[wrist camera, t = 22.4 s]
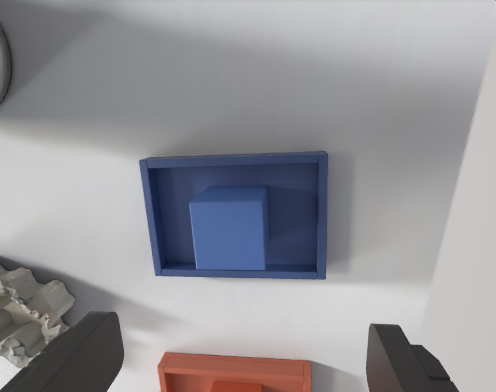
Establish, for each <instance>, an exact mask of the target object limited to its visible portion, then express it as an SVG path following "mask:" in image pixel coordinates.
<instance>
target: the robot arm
mask: <svg viewBox="0 0 496 392" xmlns="http://www.w3.org/2000/svg"><path fill="white" fill-rule="evenodd" d="M10 73H11V62H10V54H9V48H8V45H7V41H6V38H5V36H4V33H3V31H2V29H1V27H0V102H1V100H2V99H3V97H4V95H5V93H6V91H7V88H8V85H9V81H10ZM123 359H124V348H123V342H122V336H121V330H120V324H119V318H118V315H117V314H116V313H115V312H103V311H91V312H89V313H88V314H87V315H86V316H85V317H84V318H83V319H82V320H81V321H80V322H79V323H78V324H77V325H76V326H75V327H71V328H70V329H68V330H66V331H65V332H63V333H62V334H60V335H58V336H57V337H55V338H54V339H53V340H52V341H51V342H50V343H49V344H48V345H47V346H46V347H44V348H43V349H42V350H41V351H40V354H39V355H36V356H35V357H34V358H33V359H32V360H31V361H30V362H29V363H28V365H27V367H24V368H23V369H22V370H21V371H19V372H18V373H17V374H16V375H15V376H14V377H13V378H12V379H11V380H10V381H9V382H8V383H7V384H6V385H5V386H4V387H3V388H2V389H1V390H0V392H107V390H108V389H109V387H110V386H111V384H112V382H113V381H114V379H115V378H116V376H117V375H118V373H119V371H120V369H121V367H122V364H123ZM366 374H367V382H368V387H369V391H370V392H459V391H458V389H457V388H456V386H455V385H454V383H453V382H451V381H450V377H449V375H448V374H447V372H446V371H445V369H444V368H443V366H442V365H441V363H440V362H439V360H438V359H436V357H434V356H433V355H432V354H431V353H430V352H429V351H427V350H426V349H425V348H424V347H423V346H422V345H410V343H409V341H408V340H407V338H406V336H405V334H404V332H403V331H402V329H401V327H400V326H399V325H393V324H370V327H369V336H368V349H367V362H366Z"/></svg>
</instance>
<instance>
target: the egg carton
mask: <svg viewBox="0 0 496 392" xmlns="http://www.w3.org/2000/svg"><path fill="white" fill-rule="evenodd" d="M74 301H75V298H74V297H73V296H72V295H70V294H69V293H68V291H67V290H66V288H65V284H64V283H62V282H61V281H59V280H53V281H51V282H50V283H47V284H46V285H44V284H40V283H38V282H37V281H36V279H35V278H34V276H33V275H32V272H31V270H30V269H25V268H23V267H19V268H18V269H16V270H14V271H7V270H5V269H4V268H3V267H2V266H1V265H0V356H3V357H5V358H6V359H8V360H9V361H10V362H11V363H12V364H13V365H15V366H16V367H18V368H22V369H23V368H24V367H27V365H28V363H29V362H30V361H31V360H32V359H33V358H34V357H35V356H36V355H39V354H40V351H41V350H42V349H43V348H44V347H46V346H47V345H48V344H49V343H50V342H51V341H52V340H53V339H54V338H55V337H57V336H58V335H60V334H62V333H63V332H65V331H66V330H68V329H69V326H68V325H66V324H64V323H63V321H62V319H61V316H62V315H63V314H64V313H66V312H67V311H68V310H69V309H70V308H71V307H72V306H73V305H74Z"/></svg>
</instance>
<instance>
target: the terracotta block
mask: <svg viewBox="0 0 496 392" xmlns="http://www.w3.org/2000/svg"><path fill="white" fill-rule="evenodd" d="M210 392H263V388H262V385H260V384H246V383H231V382H216V381H213V384H212V387H211V391H210Z"/></svg>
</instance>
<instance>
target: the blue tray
mask: <svg viewBox="0 0 496 392" xmlns="http://www.w3.org/2000/svg"><path fill="white" fill-rule="evenodd" d="M139 164H140V171H141V178H142V185H143V192H144V199H145V206H146V213H147V220H148V227H149V234H150V242H151V249H152V256H153V263H154V270H155V276H183V277H230V278H277V279H324V280H325V279H326V238H327V177H328V154H327V153H326V152H325V151H314V152H287V153H260V154H233V155H205V156H178V157H151V158H146V159H143V160H140V161H139ZM251 185H267V187H268V211H269V235H270V243H269V250H268V257H267V264H266V269H265V270H208V269H196V261H195V251H194V242H193V233H192V224H191V215H190V206H189V203H190V202H191V201H192V200H193V199H195V198H196V197H197V196H198V195H199V194H200V193H202V192H203V191H204V190H205V189H206V188H207V187H216V186H251Z"/></svg>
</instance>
